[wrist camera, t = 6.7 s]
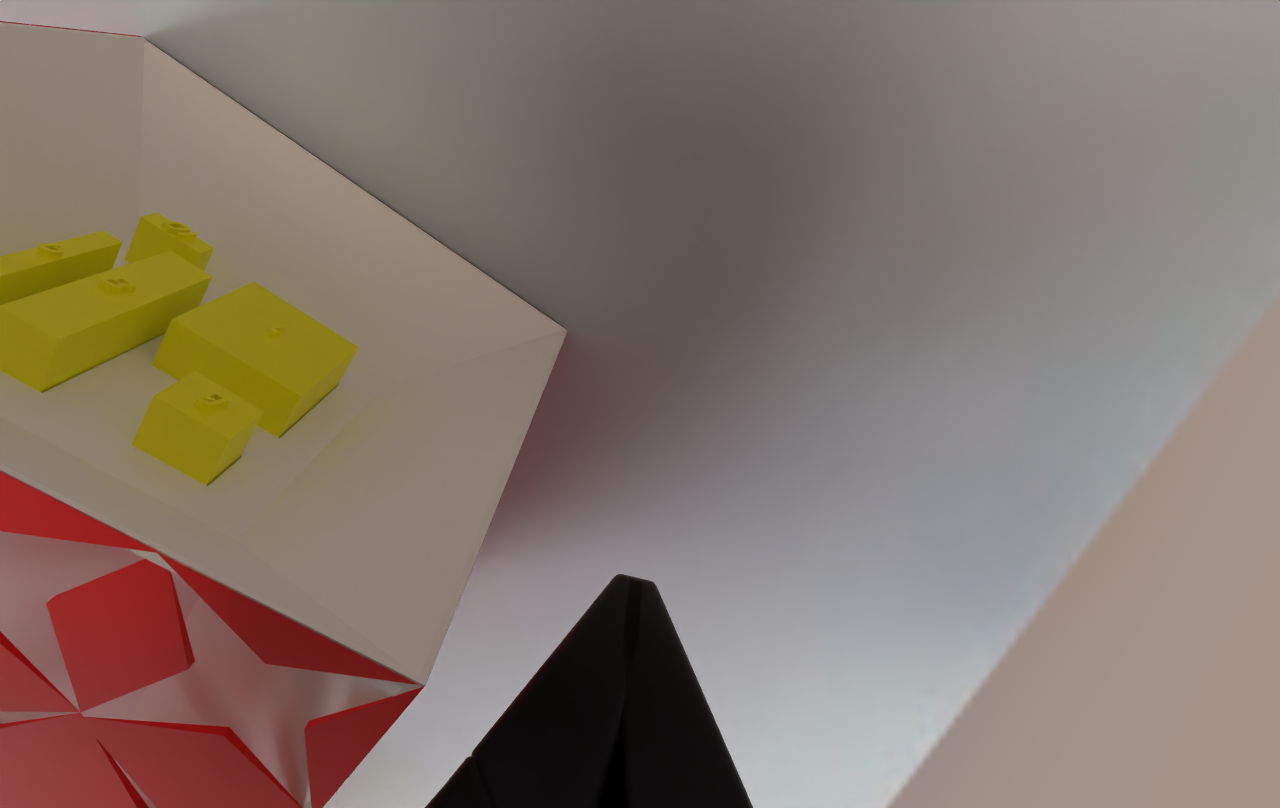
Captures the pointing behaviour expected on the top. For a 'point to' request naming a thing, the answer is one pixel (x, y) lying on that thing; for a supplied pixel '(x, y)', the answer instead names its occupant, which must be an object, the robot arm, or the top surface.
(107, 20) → the top surface
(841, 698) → the top surface
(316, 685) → the puzzle cube
